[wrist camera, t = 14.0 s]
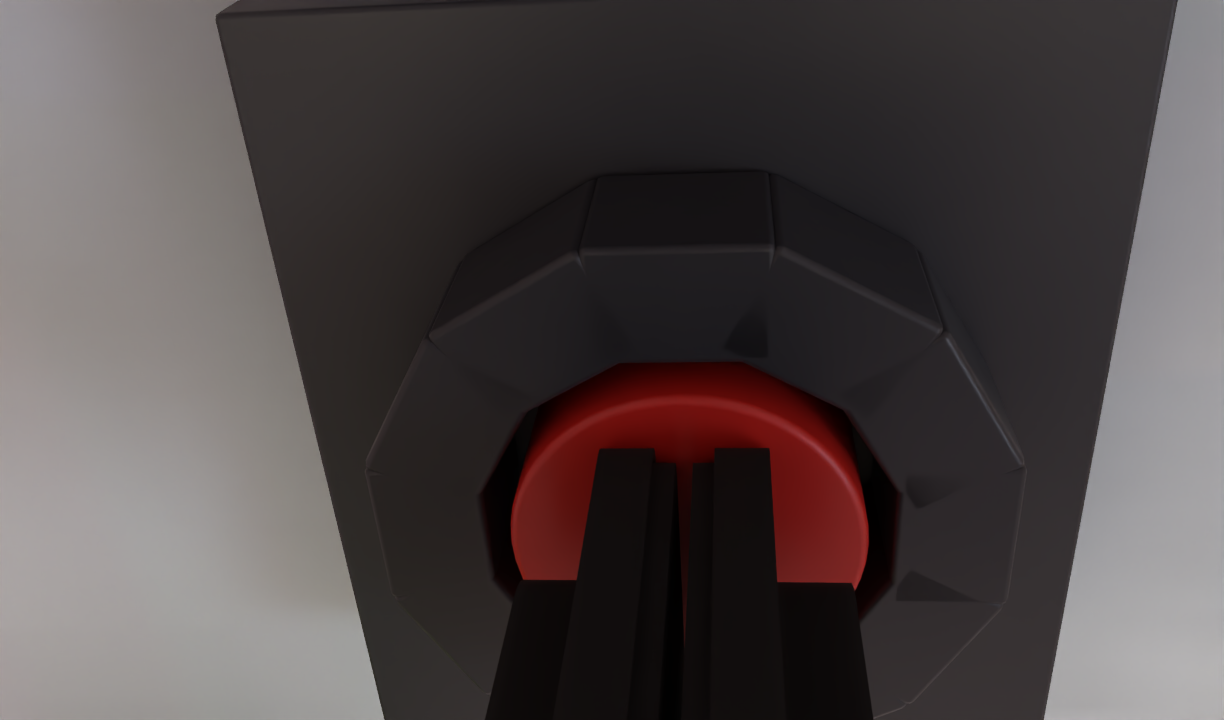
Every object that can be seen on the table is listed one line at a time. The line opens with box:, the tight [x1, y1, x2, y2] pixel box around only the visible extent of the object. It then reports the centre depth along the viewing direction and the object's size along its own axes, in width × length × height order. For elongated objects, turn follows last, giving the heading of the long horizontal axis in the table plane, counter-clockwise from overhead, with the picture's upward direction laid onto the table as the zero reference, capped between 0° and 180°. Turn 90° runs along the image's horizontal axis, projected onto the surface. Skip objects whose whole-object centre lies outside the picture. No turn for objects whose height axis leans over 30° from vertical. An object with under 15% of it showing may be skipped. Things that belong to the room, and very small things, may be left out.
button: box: [510, 362, 869, 647], centre depth 12 cm, size 4×4×2 cm
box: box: [216, 0, 1178, 720], centre depth 13 cm, size 10×9×4 cm
